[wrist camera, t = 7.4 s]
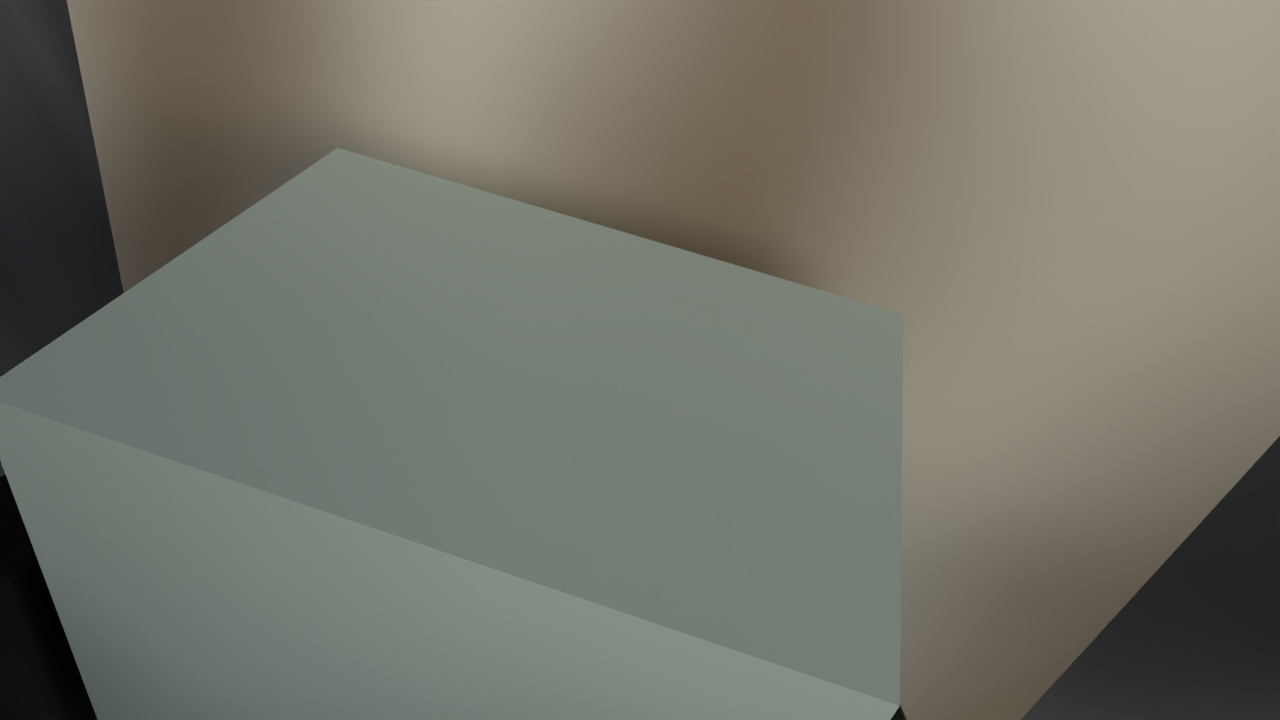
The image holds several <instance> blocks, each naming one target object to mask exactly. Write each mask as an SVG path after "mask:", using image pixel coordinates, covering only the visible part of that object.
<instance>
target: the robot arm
mask: <svg viewBox="0 0 1280 720" xmlns="http://www.w3.org/2000/svg"><path fill="white" fill-rule="evenodd" d="M0 720H98V719H97V717H96V714H95V711H94V709H93V706H92V703H91V701H90V698H89V695H88V693H87V690H86V687H85V685H84V682H83V679H82V677H81V674H80V671H79V669H78V666H77V663H76V661H75V658H74V655H73V653H72V650H71V647H70V645H69V642H68V639H67V637H66V634H65V631H64V629H63V626H62V623H61V621H60V618H59V615H58V613H57V610H56V607H55V605H54V602H53V599H52V597H51V594H50V591H49V589H48V586H47V583H46V581H45V578H44V575H43V573H42V570H41V567H40V565H39V562H38V559H37V557H36V554H35V551H34V549H33V546H32V543H31V541H30V538H29V535H28V533H27V530H26V527H25V525H24V522H23V519H22V517H21V514H20V511H19V509H18V506H17V503H16V501H15V498H14V495H13V493H12V490H11V487H10V485H9V482H8V479H7V477H6V475H3V476H1V477H0ZM891 720H907V719H906V717H905V714H904V712H903V709H902V707H901V704H900V706H899V708H898V709H897V711H896V712H895V714H894V715H893V717H892V718H891Z"/></svg>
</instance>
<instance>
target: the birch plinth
mask: <svg viewBox="0 0 1280 720" xmlns="http://www.w3.org/2000/svg"><path fill="white" fill-rule="evenodd" d="M67 5H68V10H69V15H70V20H71V25H72V30H73V35H74V41H75V46H76V51H77V56H78V61H79V66H80V71H81V76H82V82H83V87H84V92H85V97H86V102H87V107H88V112H89V118H90V123H91V128H92V133H93V138H94V143H95V148H96V153H97V159H98V164H99V169H100V174H101V179H102V184H103V189H104V194H105V200H106V205H107V210H108V215H109V220H110V225H111V230H112V236H113V241H114V246H115V251H116V256H117V261H118V266H119V271H120V277H121V282H122V287H123V292H124V293H125V292H126V291H128V290H129V289H131V288H132V287H134V286H135V285H136V284H138V283H139V282H141V281H142V280H144V279H145V278H147V277H148V276H150V275H151V274H153V273H154V272H156V271H157V270H159V269H160V268H162V267H163V266H164V265H166V264H167V263H169V262H170V261H172V260H173V259H175V258H176V257H178V256H179V255H181V254H182V253H184V252H185V251H187V250H188V249H189V248H191V247H192V246H194V245H195V244H197V243H198V242H200V241H201V240H203V239H204V238H206V237H207V236H209V235H210V234H212V233H213V232H214V231H216V230H217V229H219V228H220V227H222V226H223V225H225V224H226V223H228V222H229V221H231V220H232V219H234V218H235V217H237V216H238V215H239V214H241V213H242V212H244V211H245V210H247V209H248V208H250V207H251V206H253V205H254V204H256V203H257V202H259V201H260V200H262V199H263V198H264V197H266V196H267V195H269V194H270V193H272V192H273V191H275V190H276V189H278V188H279V187H281V186H282V185H284V184H285V183H287V182H288V181H290V180H291V179H292V178H294V177H295V176H297V175H298V174H300V173H301V172H303V171H304V170H306V169H307V168H309V167H310V166H312V165H313V164H315V163H316V162H317V161H319V160H320V159H322V158H323V157H325V156H326V155H328V154H329V153H331V152H332V151H334V150H335V149H337V148H340V149H343V150H347V151H350V152H354V153H357V154H360V155H364V156H367V157H371V158H374V159H377V160H381V161H384V162H388V163H391V164H394V165H398V166H401V167H405V168H408V169H411V170H415V171H418V172H422V173H425V174H428V175H432V176H435V177H439V178H442V179H445V180H449V181H452V182H456V183H459V184H462V185H466V186H469V187H473V188H476V189H479V190H483V191H486V192H489V193H493V194H496V195H500V196H503V197H506V198H510V199H513V200H517V201H520V202H523V203H527V204H530V205H534V206H537V207H540V208H544V209H547V210H551V211H554V212H557V213H561V214H564V215H568V216H571V217H574V218H578V219H581V220H585V221H588V222H591V223H595V224H598V225H602V226H605V227H608V228H612V229H615V230H619V231H622V232H625V233H629V234H632V235H635V236H639V237H642V238H646V239H649V240H652V241H656V242H659V243H663V244H666V245H669V246H673V247H676V248H680V249H683V250H686V251H690V252H693V253H697V254H700V255H703V256H707V257H710V258H714V259H717V260H720V261H724V262H727V263H731V264H734V265H737V266H741V267H744V268H748V269H751V270H754V271H758V272H761V273H765V274H768V275H771V276H775V277H778V278H782V279H785V280H788V281H792V282H795V283H798V284H802V285H805V286H809V287H812V288H815V289H819V290H822V291H826V292H829V293H832V294H836V295H839V296H843V297H846V298H849V299H853V300H856V301H860V302H863V303H866V304H870V305H873V306H877V307H880V308H883V309H887V310H890V311H894V312H897V313H900V314H903V404H902V517H901V630H900V704H901V707H902V709H903V712H904V714H905V717H906V719H907V720H1021V719H1022V718H1023V717H1024V715H1025V714H1026V713H1027V712H1028V711H1029V710H1030V709H1031V708H1032V707H1033V706H1034V705H1035V703H1036V702H1037V701H1038V700H1039V699H1040V698H1041V697H1042V696H1043V695H1044V694H1045V692H1046V691H1047V690H1048V689H1049V688H1050V687H1051V686H1052V685H1053V684H1054V683H1055V682H1056V680H1057V679H1058V678H1059V677H1060V676H1061V675H1062V674H1063V673H1064V672H1065V671H1066V669H1067V668H1068V667H1069V666H1070V665H1071V664H1072V663H1073V662H1074V661H1075V660H1076V659H1077V657H1078V656H1079V655H1080V654H1081V653H1082V652H1083V651H1084V650H1085V649H1086V648H1087V646H1088V645H1089V644H1090V643H1091V642H1092V641H1093V640H1094V639H1095V638H1096V637H1097V636H1098V634H1099V633H1100V632H1101V631H1102V630H1103V629H1104V628H1105V627H1106V626H1107V625H1108V623H1109V622H1110V621H1111V620H1112V619H1113V618H1114V617H1115V616H1116V615H1117V614H1118V613H1119V611H1120V610H1121V609H1122V608H1123V607H1124V606H1125V605H1126V604H1127V603H1128V602H1129V600H1130V599H1131V598H1132V597H1133V596H1134V595H1135V594H1136V593H1137V592H1138V591H1139V590H1140V588H1141V587H1142V586H1143V585H1144V584H1145V583H1146V582H1147V581H1148V580H1149V579H1150V577H1151V576H1152V575H1153V574H1154V573H1155V572H1156V571H1157V570H1158V569H1159V568H1160V567H1161V565H1162V564H1163V563H1164V562H1165V561H1166V560H1167V559H1168V558H1169V557H1170V556H1171V554H1172V553H1173V552H1174V551H1175V550H1176V549H1177V548H1178V547H1179V546H1180V545H1181V544H1182V542H1183V541H1184V540H1185V539H1186V538H1187V537H1188V536H1189V535H1190V534H1191V533H1192V531H1193V530H1194V529H1195V528H1196V527H1197V526H1198V525H1199V524H1200V523H1201V522H1202V521H1203V519H1204V518H1205V517H1206V516H1207V515H1208V514H1209V513H1210V512H1211V511H1212V510H1213V508H1214V507H1215V506H1216V505H1217V504H1218V503H1219V502H1220V501H1221V500H1222V499H1223V498H1224V496H1225V495H1226V494H1227V493H1228V492H1229V491H1230V490H1231V489H1232V488H1233V487H1234V485H1235V484H1236V483H1237V482H1238V481H1239V480H1240V479H1241V478H1242V477H1243V476H1244V475H1245V473H1246V472H1247V471H1248V470H1249V469H1250V468H1251V467H1252V466H1253V465H1254V464H1255V462H1256V461H1257V460H1258V459H1259V458H1260V457H1261V456H1262V455H1263V454H1264V453H1265V452H1266V450H1267V449H1268V448H1269V447H1270V446H1271V445H1272V444H1273V443H1274V442H1275V441H1276V439H1277V438H1278V437H1279V436H1280V0H67Z"/></svg>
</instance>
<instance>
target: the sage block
mask: <svg viewBox="0 0 1280 720" xmlns="http://www.w3.org/2000/svg"><path fill="white" fill-rule="evenodd" d="M902 404H903V314H900V313H897V312H894V311H890V310H887V309H883V308H880V307H877V306H873V305H870V304H866V303H863V302H860V301H856V300H853V299H849V298H846V297H843V296H839V295H836V294H832V293H829V292H826V291H822V290H819V289H815V288H812V287H809V286H805V285H802V284H798V283H795V282H792V281H788V280H785V279H782V278H778V277H775V276H771V275H768V274H765V273H761V272H758V271H754V270H751V269H748V268H744V267H741V266H737V265H734V264H731V263H727V262H724V261H720V260H717V259H714V258H710V257H707V256H703V255H700V254H697V253H693V252H690V251H686V250H683V249H680V248H676V247H673V246H669V245H666V244H663V243H659V242H656V241H652V240H649V239H646V238H642V237H639V236H635V235H632V234H629V233H625V232H622V231H619V230H615V229H612V228H608V227H605V226H602V225H598V224H595V223H591V222H588V221H585V220H581V219H578V218H574V217H571V216H568V215H564V214H561V213H557V212H554V211H551V210H547V209H544V208H540V207H537V206H534V205H530V204H527V203H523V202H520V201H517V200H513V199H510V198H506V197H503V196H500V195H496V194H493V193H489V192H486V191H483V190H479V189H476V188H473V187H469V186H466V185H462V184H459V183H456V182H452V181H449V180H445V179H442V178H439V177H435V176H432V175H428V174H425V173H422V172H418V171H415V170H411V169H408V168H405V167H401V166H398V165H394V164H391V163H388V162H384V161H381V160H377V159H374V158H371V157H367V156H364V155H360V154H357V153H354V152H350V151H347V150H343V149H340V148H337V149H335V150H334V151H332V152H331V153H329V154H328V155H326V156H325V157H323V158H322V159H320V160H319V161H317V162H316V163H315V164H313V165H312V166H310V167H309V168H307V169H306V170H304V171H303V172H301V173H300V174H298V175H297V176H295V177H294V178H292V179H291V180H290V181H288V182H287V183H285V184H284V185H282V186H281V187H279V188H278V189H276V190H275V191H273V192H272V193H270V194H269V195H267V196H266V197H264V198H263V199H262V200H260V201H259V202H257V203H256V204H254V205H253V206H251V207H250V208H248V209H247V210H245V211H244V212H242V213H241V214H239V215H238V216H237V217H235V218H234V219H232V220H231V221H229V222H228V223H226V224H225V225H223V226H222V227H220V228H219V229H217V230H216V231H214V232H213V233H212V234H210V235H209V236H207V237H206V238H204V239H203V240H201V241H200V242H198V243H197V244H195V245H194V246H192V247H191V248H189V249H188V250H187V251H185V252H184V253H182V254H181V255H179V256H178V257H176V258H175V259H173V260H172V261H170V262H169V263H167V264H166V265H164V266H163V267H162V268H160V269H159V270H157V271H156V272H154V273H153V274H151V275H150V276H148V277H147V278H145V279H144V280H142V281H141V282H139V283H138V284H136V285H135V286H134V287H132V288H131V289H129V290H128V291H126V292H125V293H123V294H122V295H120V296H119V297H117V298H116V299H114V300H113V301H111V302H110V303H109V304H107V305H106V306H104V307H103V308H101V309H100V310H98V311H97V312H95V313H94V314H92V315H91V316H89V317H88V318H86V319H85V320H84V321H82V322H81V323H79V324H78V325H76V326H75V327H73V328H72V329H70V330H69V331H67V332H66V333H64V334H63V335H61V336H60V337H59V338H57V339H56V340H54V341H53V342H51V343H50V344H48V345H47V346H45V347H44V348H42V349H41V350H39V351H38V352H36V353H35V354H34V355H32V356H31V357H29V358H28V359H26V360H25V361H23V362H22V363H20V364H19V365H17V366H16V367H14V368H13V369H11V370H10V371H8V372H7V373H6V374H4V375H3V376H1V377H0V461H1V463H2V466H3V469H4V471H5V474H6V477H7V479H8V482H9V485H10V487H11V490H12V493H13V495H14V498H15V501H16V503H17V506H18V509H19V511H20V514H21V517H22V519H23V522H24V525H25V527H26V530H27V533H28V535H29V538H30V541H31V543H32V546H33V549H34V551H35V554H36V557H37V559H38V562H39V565H40V567H41V570H42V573H43V575H44V578H45V581H46V583H47V586H48V589H49V591H50V594H51V597H52V599H53V602H54V605H55V607H56V610H57V613H58V615H59V618H60V621H61V623H62V626H63V629H64V631H65V634H66V637H67V639H68V642H69V645H70V647H71V650H72V653H73V655H74V658H75V661H76V663H77V666H78V669H79V671H80V674H81V677H82V679H83V682H84V685H85V687H86V690H87V693H88V695H89V698H90V701H91V703H92V706H93V709H94V711H95V714H96V717H97V719H98V720H891V718H892V717H893V715H894V714H895V712H896V711H897V709H898V708H899V706H900V630H901V517H902Z"/></svg>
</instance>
